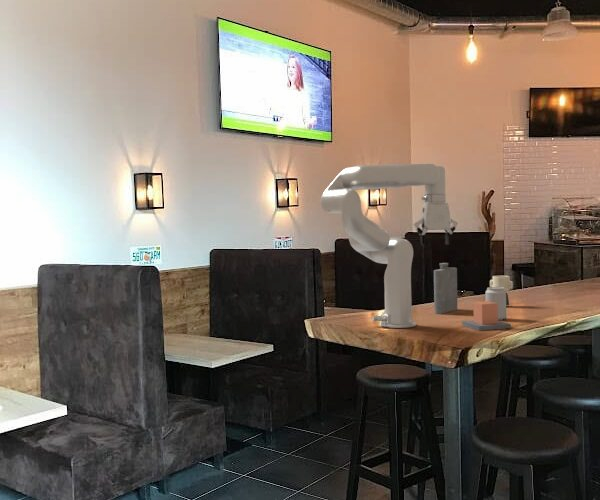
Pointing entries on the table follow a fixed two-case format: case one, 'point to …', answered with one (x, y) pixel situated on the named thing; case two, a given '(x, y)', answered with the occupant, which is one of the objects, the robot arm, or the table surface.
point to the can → (497, 299)
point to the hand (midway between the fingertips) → (436, 245)
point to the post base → (486, 325)
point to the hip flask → (445, 289)
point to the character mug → (502, 284)
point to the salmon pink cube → (485, 312)
